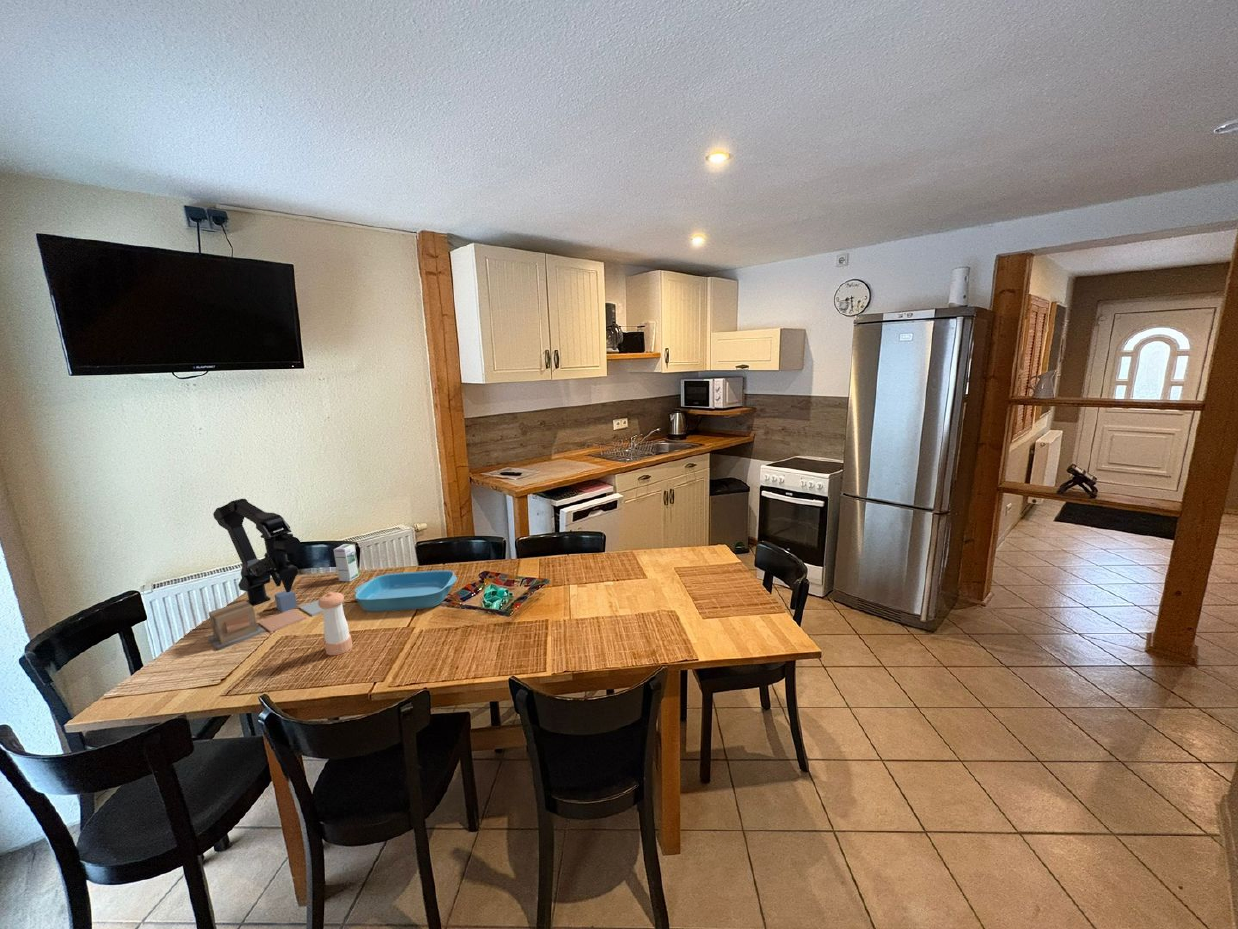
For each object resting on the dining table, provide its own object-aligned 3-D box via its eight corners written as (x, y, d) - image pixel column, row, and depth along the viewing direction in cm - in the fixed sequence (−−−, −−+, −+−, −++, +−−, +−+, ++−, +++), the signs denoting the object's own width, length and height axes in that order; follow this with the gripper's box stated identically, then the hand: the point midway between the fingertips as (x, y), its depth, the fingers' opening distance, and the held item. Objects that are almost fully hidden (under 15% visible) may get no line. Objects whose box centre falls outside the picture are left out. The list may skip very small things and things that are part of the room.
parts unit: (207, 640, 164) (201, 613, 163) (253, 623, 175) (248, 597, 173) (218, 650, 158) (211, 622, 156) (265, 632, 168) (259, 605, 166)
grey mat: (299, 608, 184) (299, 606, 184) (330, 596, 193) (330, 595, 193) (312, 616, 178) (311, 614, 178) (343, 603, 186) (343, 602, 186)
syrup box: (350, 581, 206) (345, 549, 203) (338, 581, 207) (333, 548, 204) (360, 576, 212) (355, 544, 209) (348, 575, 213) (343, 543, 210)
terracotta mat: (259, 623, 174) (258, 622, 174) (293, 610, 183) (293, 609, 183) (270, 632, 168) (270, 630, 168) (306, 618, 176) (305, 617, 176)
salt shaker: (334, 658, 151) (323, 600, 147) (321, 651, 154) (311, 595, 151) (357, 646, 157) (348, 590, 153) (344, 640, 160) (335, 585, 157)
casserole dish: (344, 618, 176) (341, 599, 174) (372, 590, 198) (370, 573, 196) (449, 611, 177) (447, 593, 176) (465, 584, 199) (463, 567, 198)
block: (277, 609, 185) (274, 594, 183) (292, 603, 188) (289, 589, 187) (282, 612, 182) (279, 597, 180) (297, 607, 186) (294, 592, 184)
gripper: (240, 551, 180) (248, 591, 183) (259, 562, 169) (267, 604, 172) (275, 542, 188) (282, 580, 192) (295, 551, 177) (303, 591, 180)
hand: (283, 589), depth 184 cm, fingers open, 9 cm apart
